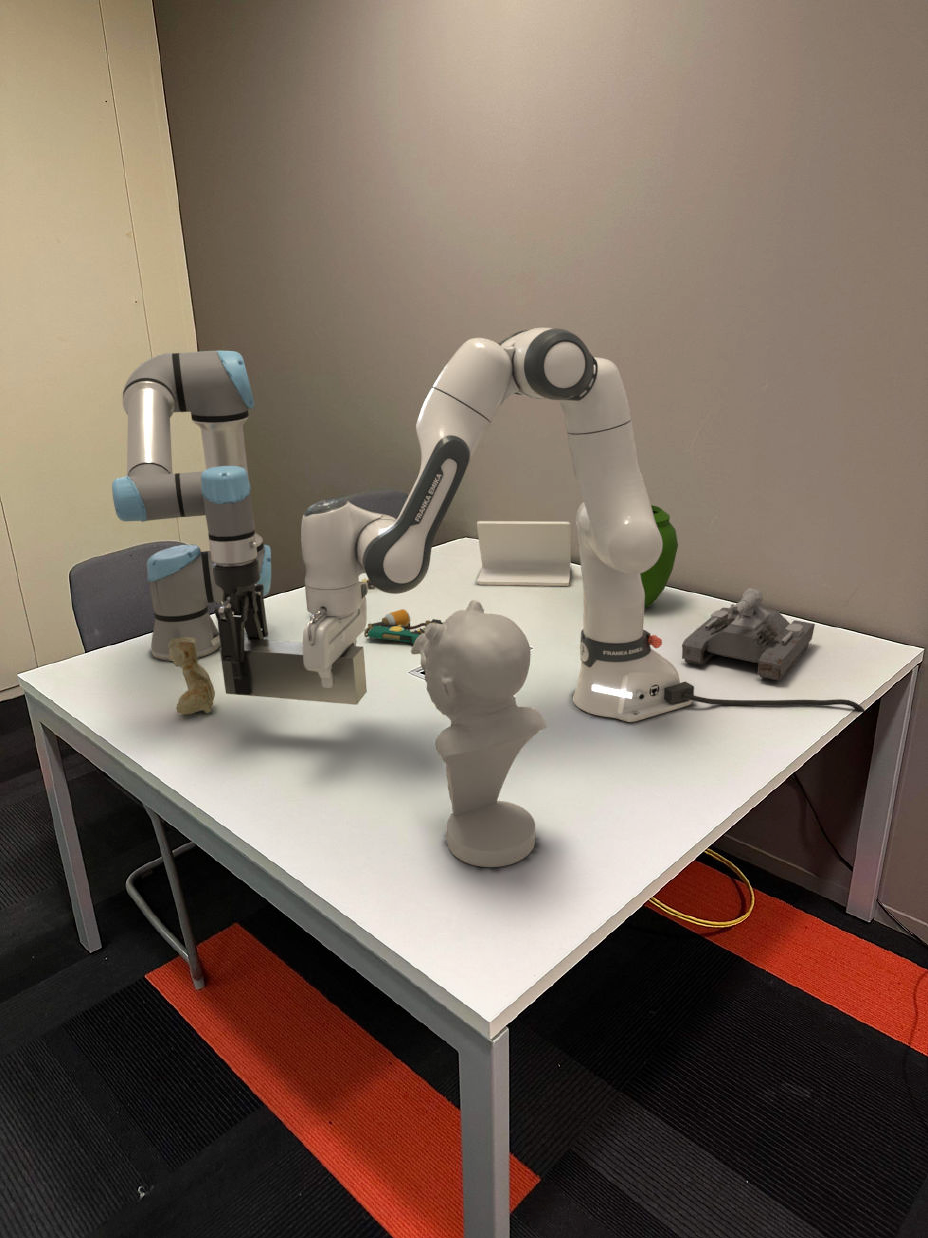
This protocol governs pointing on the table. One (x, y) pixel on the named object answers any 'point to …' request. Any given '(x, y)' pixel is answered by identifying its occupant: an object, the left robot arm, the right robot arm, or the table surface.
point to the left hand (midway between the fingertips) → (251, 686)
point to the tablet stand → (524, 553)
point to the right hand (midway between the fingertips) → (338, 674)
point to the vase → (660, 559)
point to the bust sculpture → (481, 729)
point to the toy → (750, 637)
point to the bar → (298, 673)
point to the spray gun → (397, 627)
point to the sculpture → (191, 677)
